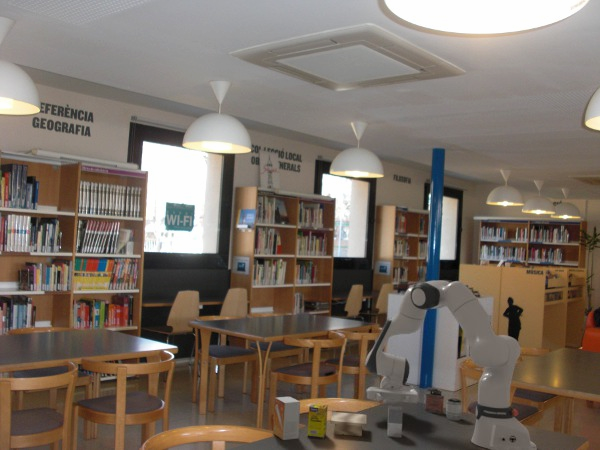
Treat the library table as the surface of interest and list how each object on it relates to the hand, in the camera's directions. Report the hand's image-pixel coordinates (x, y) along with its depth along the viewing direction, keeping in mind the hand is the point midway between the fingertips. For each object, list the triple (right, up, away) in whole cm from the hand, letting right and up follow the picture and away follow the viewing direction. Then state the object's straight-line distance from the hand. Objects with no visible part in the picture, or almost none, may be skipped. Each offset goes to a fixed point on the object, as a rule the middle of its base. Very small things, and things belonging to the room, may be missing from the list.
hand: (393, 399), depth 252 cm
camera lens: (+27, -13, +17) cm, 34 cm away
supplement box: (-30, -8, -20) cm, 37 cm away
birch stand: (-18, -9, -11) cm, 23 cm away
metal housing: (-1, -10, -13) cm, 16 cm away
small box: (-42, -7, -22) cm, 47 cm away
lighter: (+21, -13, +26) cm, 36 cm away
